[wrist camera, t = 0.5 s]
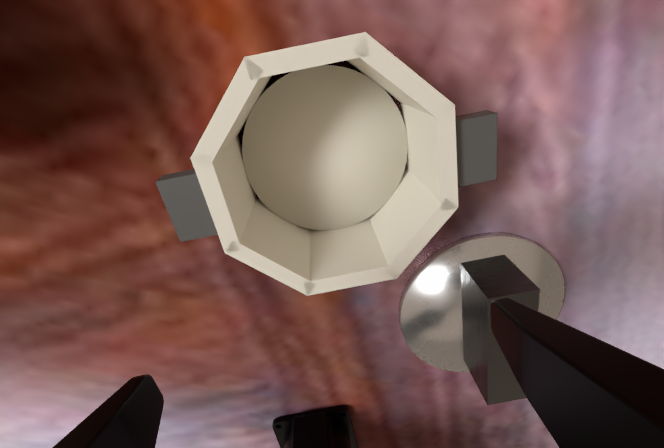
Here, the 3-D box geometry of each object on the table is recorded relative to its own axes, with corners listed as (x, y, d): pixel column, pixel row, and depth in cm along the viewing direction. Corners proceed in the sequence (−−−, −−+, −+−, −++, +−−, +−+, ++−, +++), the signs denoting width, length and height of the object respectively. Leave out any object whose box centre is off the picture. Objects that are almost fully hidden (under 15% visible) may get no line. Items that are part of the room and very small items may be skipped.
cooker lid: (549, 347, 29) (594, 399, 24) (405, 373, 29) (423, 431, 25) (563, 215, 24) (622, 251, 19) (389, 249, 24) (407, 292, 20)
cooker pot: (454, 212, 23) (500, 258, 17) (229, 256, 23) (205, 315, 18) (446, 20, 18) (505, 2, 13) (166, 78, 19) (108, 84, 13)
